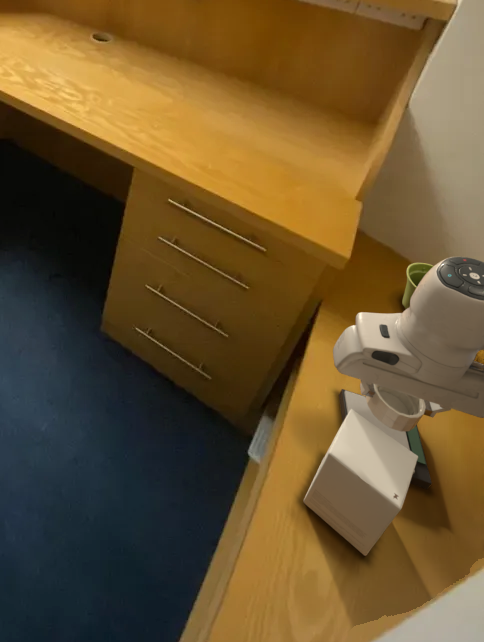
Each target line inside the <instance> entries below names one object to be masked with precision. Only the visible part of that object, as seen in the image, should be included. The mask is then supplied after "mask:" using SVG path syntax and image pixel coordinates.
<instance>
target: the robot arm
mask: <svg viewBox="0 0 484 642" xmlns="http://www.w3.org/2000/svg"><path fill="white" fill-rule="evenodd" d="M433 266H434V267H432V268H431V269H430V270H429V271H428V272H427V273H426V275H425V276H424V277H423V279H422V280H421V281H420V283H419V284H418V286H417V288H416V289H415V291H414V293H413V295H412V297H411V300H410V307H409V308H407V309H405V310H403V312H396V313H381V312H380V313H379V312H366V311H365V312H364V311H361V312H358V313H357V314H356V315H355V324H353V325H349V326H348V327H346V328H345V329H344V330H343V331H342V333H341V334H340V336H339V337H338V339H337V340H336V342H335V343H334V346H333V349H332V356H333V357H332V358H333V363H334V367H335V369H336V370H337V372H338V373H339V374H341V375H344V376H347V377H351V378H354V379H357V380H360V384H359V387H360V388H359V389H360V395H363V396H368V397H372V398H373V395H374V394H375V389H374V384H376V385H379V386H382V387H385V388H388V389H392V390H395V391H398V392H401V393H404V394H407V395H410V396H414V397H417V398H420V399H423V400H424V402H425V406H426V408H425V412H424V415H423V416H427V417H429V418H434V417H435V416H436V414H439V413H444V412H449V411H451V410H455V411H458V412H461V413H465V414H468V415H470V416H473V417H477V418H481V419H484V364H483V363H481V362H478V361H476V360H475V359H476V358H477V354H478V353H479V352H480V351H484V261H482V260H479V259H477V258H472V257H468V256H450V257H446V258H444V259H443V260H440V261H439V262H438V263H436V264H435V265H433Z"/></svg>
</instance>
